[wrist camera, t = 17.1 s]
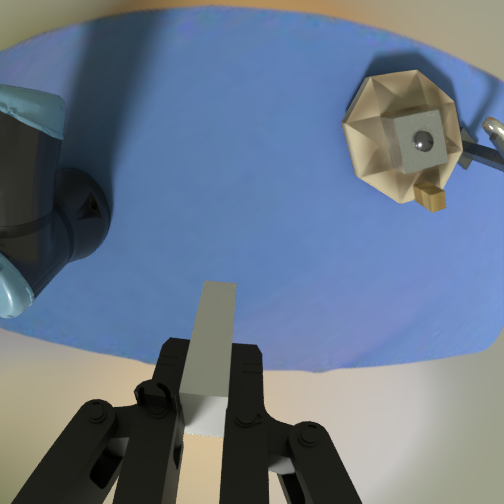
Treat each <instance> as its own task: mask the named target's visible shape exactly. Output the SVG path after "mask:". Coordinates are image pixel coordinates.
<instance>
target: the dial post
mask: <svg viewBox="0 0 504 504" xmlns="http://www.w3.org/2000/svg"><path fill="white" fill-rule="evenodd" d="M482 126H483V129H484V130H485V132H486V133H487V134H488V135H489V136H490V138H489V139H490V141H491V142H492V143H493V145H494V146H495V148H496V149H497V150H495V149H492V148H489V147H486V146H482V145H479V144H477V143H476V142H475V141H474V140H473V139H472V137H471V136H470V135H469V134H468V133H467V132H466V130H465V129H464V128H462V127H459V129H460V135H461V141H462V148H463V151H462V153H461V155H460V157H459V159H458V161H457V162H458V164H459V165H460V166H461V167H462V168H463V169H465V170H467V168H468V167H469V165H470V163H471V162H472V160H474V161H477V162H479V163H482V164H485V165H487V166H490V167H493V168H495V169H498V170H500V171H502V172H504V124H502V123H501V122H500V121H498V120H497V119H495V118H493V117H489V116H488V117H486V118H485V120H484V122H483V124H482Z"/></svg>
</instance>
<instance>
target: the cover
mask: <svg viewBox="0 0 504 504" xmlns="http://www.w3.org/2000/svg"><path fill="white" fill-rule="evenodd" d="M380 118H381V122H382V126H383V130H384V134H385V138H386V142H387V146H388V151H389V155H390V160H391V165H392V168H394V169H396V170H398V171H400V172H402V173H404V174H408V173H411V172H415V171H418V170H422V169H425V168H429V167H432V166H436V165H440V164H443V163H447V162H448V158H447V151H446V145H445V139H444V133H443V128H442V123H441V118H440V114H439V110H437V109H425V108H422V109H417V110H412V111H407V112H402V113H397V114H393V115H388V116H384V117H380Z"/></svg>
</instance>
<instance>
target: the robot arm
mask: <svg viewBox="0 0 504 504" xmlns="http://www.w3.org/2000/svg"><path fill="white" fill-rule="evenodd" d="M65 115H66V104H65V102H64V100H63V99H62V98H61V97H60V96H58V95H56V94H52V93H48V92H44V91H39V90H34V89H28V88H22V87H17V86H10V85H3V84H0V317H3V318H14V317H16V316H18V315H20V314H21V313H22V312H23V311H24V310H25V309H26V308H27V307H28V306H29V305H32V304H33V302H34V300H35V298H36V297H37V296H38V295H39V294H40V293H41V291H42V290H43V289H44V288H45V287H46V286H47V285H48V284H49V282H50V281H51V280H52V279H53V278H54V277H55V276H56V275H57V274H58V273H59V272H60V271H61V270H62V268H63V267H64V266H65V265H66V264H67V263H70V262H73V261H75V260H79V259H82V258H85V257H87V256H89V255H91V254H92V253H93V252H94V251H95V250H96V249H97V248H98V247H99V246H100V245H101V244H102V243H103V241H104V240H105V238H106V236H107V233H108V229H109V222H110V215H109V208H108V204H107V201H106V198H105V196H104V194H103V192H102V190H101V188H100V187H99V185H98V184H97V183H96V182H95V181H94V180H93V179H92V178H91V177H90V176H89V175H87V174H86V173H84V172H82V171H80V170H77V169H73V168H63V169H59V170H58V163H59V156H60V150H61V144H62V140H64V135H63V128H64V121H65ZM236 285H237V283H227V282H215V281H205V282H204V286H203V290H202V294H201V298H200V302H199V307H198V311H197V315H196V319H195V323H194V327H193V332H192V336H191V340H188V339H179V338H171V337H170V338H169V339H168V340H167V341H166V342H165V343H164V344H163V345H162V348H161V351H160V354H159V358H158V361H157V365H156V368H155V370H154V374H153V377H152V379H150V380H147V381H143V382H142V383H140V384H139V385H138V386H137V387H136V389H135V390H134V394H135V397H136V400H137V404H135V405H131V406H123V407H112V405H111V404H110V403H108V402H107V401H104V400H101V399H93V400H90V401H88V402H86V403H85V404H84V405H82V406H81V408H80V409H79V410H78V412H77V413H76V414H75V416H74V417H73V418H72V420H71V421H70V422H69V424H68V425H67V426H66V428H65V429H64V430H63V432H62V433H61V434H60V436H59V437H58V438H57V440H56V441H55V442H54V444H53V445H52V446H51V448H50V449H49V451H48V452H47V453H46V455H45V456H44V457H43V459H42V460H41V462H40V463H39V464H38V466H37V467H36V469H35V470H34V471H33V473H32V474H31V476H30V477H29V478H28V480H27V481H26V483H25V484H24V486H23V487H22V488H21V490H20V491H19V493H18V495H17V496H16V497H15V499H14V500H13V502H12V503H11V504H102V503H103V502H104V500H105V498H106V497H107V495H108V493H109V492H110V490H111V488H112V486H113V485H114V483H115V481H116V480H117V478H118V476H119V478H118V482H117V486H116V490H115V494H114V499H113V503H112V504H176V497H177V489H178V482H179V474H180V468H181V461H182V454H183V448H184V446H183V434H184V429H185V433H186V434H195V435H203V436H213V437H224V441H223V454H222V470H221V484H220V500H219V504H269V478H268V471H272V472H275V473H277V476H278V478H279V481H280V484H281V487H282V490H283V493H284V495H285V498H286V501H287V503H288V504H362V502H361V500H360V498H359V496H358V494H357V492H356V489H355V488H354V485H353V483H352V481H351V479H350V477H349V475H348V473H347V471H346V469H345V467H344V465H343V463H342V461H341V459H340V457H339V455H338V453H337V450H336V448H335V446H334V444H333V442H332V440H331V438H330V436H329V434H328V432H327V431H326V429H325V428H324V427H323V426H321V425H320V424H318V423H315V422H311V421H305V422H301V423H298V424H296V425H294V426H293V425H290V424H286V423H283V422H280V421H277V420H275V419H274V418H272V417H271V416H270V415H269V414H268V413H267V411H266V410H265V407H264V396H263V366H262V353H261V351H260V350H259V348H258V346H257V345H252V344H238V343H232V337H233V324H234V311H235V298H236Z"/></svg>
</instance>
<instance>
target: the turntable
mask: <svg viewBox="0 0 504 504" xmlns="http://www.w3.org/2000/svg"><path fill="white" fill-rule="evenodd" d="M422 108H425V109H437V110H439V114H440V118H441V123H442V128H443V133H444V139H445V145H446V151H447V158H448V162H447V163H443V164H440V165H436V166H432V167H429V168H425V169H422V170H418V171H415V172H411V173H408V174H404V173H402V172H400V171H398V170H396V169H394V168H392V165H391V160H390V155H389V151H388V146H387V142H386V138H385V134H384V130H383V126H382V122H381V118H380V117H384V116H388V115H393V114H397V113H402V112H407V111H412V110H417V109H422ZM341 124H342V128H343V131H344V135H345V138H346V142H347V146H348V150H349V153H350V157H351V161H352V165H353V169H354V173H355V175H356V176H357V177H359V178H360V179H362V180H363V181H365V182H367V183H368V184H370V185H371V186H373V187H375V188H376V189H378V190H379V191H381V192H383V193H384V194H386V195H387V196H389V197H390V198H392V199H393V200H395V201H396V202H398V203H399V204H402V203H405V202H409V201H412V200H415V201H416V202H418V203H419V204H420V205H422V206H423V207H425V208H426V209H428V210H429V211H431V212H432V213H433V212H436V211H439V210H442V209H445V208H446V199H445V191H444V190H442V189H443V187H444V186H445V184H446V182H447V180H448V178H449V177H450V175H451V173H452V171H453V169H454V167H455V165H456V163H457V161H458V159H459V157H460V155H461V153H462V151H463V148H462V141H461V135H460V129H459V123H458V118H457V113H456V108H455V103H454V101H453V100H452V99H451V98H450V97H449V96H447V95H446V94H445V93H444V92H443V91H442V90H441V89H440V88H439V87H437V86H436V85H435V84H434V83H433V82H432V81H430V80H429V79H428V78H427V77H426V76H424V75H423V74H422V73H421V72H419V71H418V70H411V71H403V72H396V73H389V74H383V75H377V76H371V77H367V78H365V79H364V81H363V83H362V85H361V87H360V89H359V90H358V92H357V94H356V96H355V98H354V100H353V102H352V103H351V105H350V107H349V109H348V111H347V113H346V115H345V116H344V118H343V120H342V122H341Z"/></svg>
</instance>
